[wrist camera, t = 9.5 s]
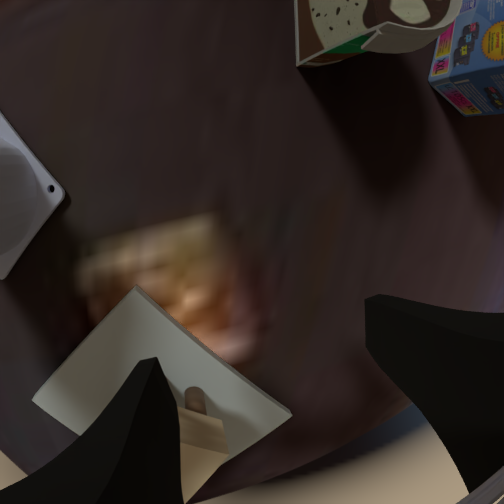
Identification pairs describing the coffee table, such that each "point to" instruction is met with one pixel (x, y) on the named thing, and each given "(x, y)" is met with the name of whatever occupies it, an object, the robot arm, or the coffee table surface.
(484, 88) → the ink cartridge box
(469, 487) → the robot arm
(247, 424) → the blue-grey board
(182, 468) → the beige cardboard carton
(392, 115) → the coffee table surface
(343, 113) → the coffee table surface
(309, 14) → the food container
